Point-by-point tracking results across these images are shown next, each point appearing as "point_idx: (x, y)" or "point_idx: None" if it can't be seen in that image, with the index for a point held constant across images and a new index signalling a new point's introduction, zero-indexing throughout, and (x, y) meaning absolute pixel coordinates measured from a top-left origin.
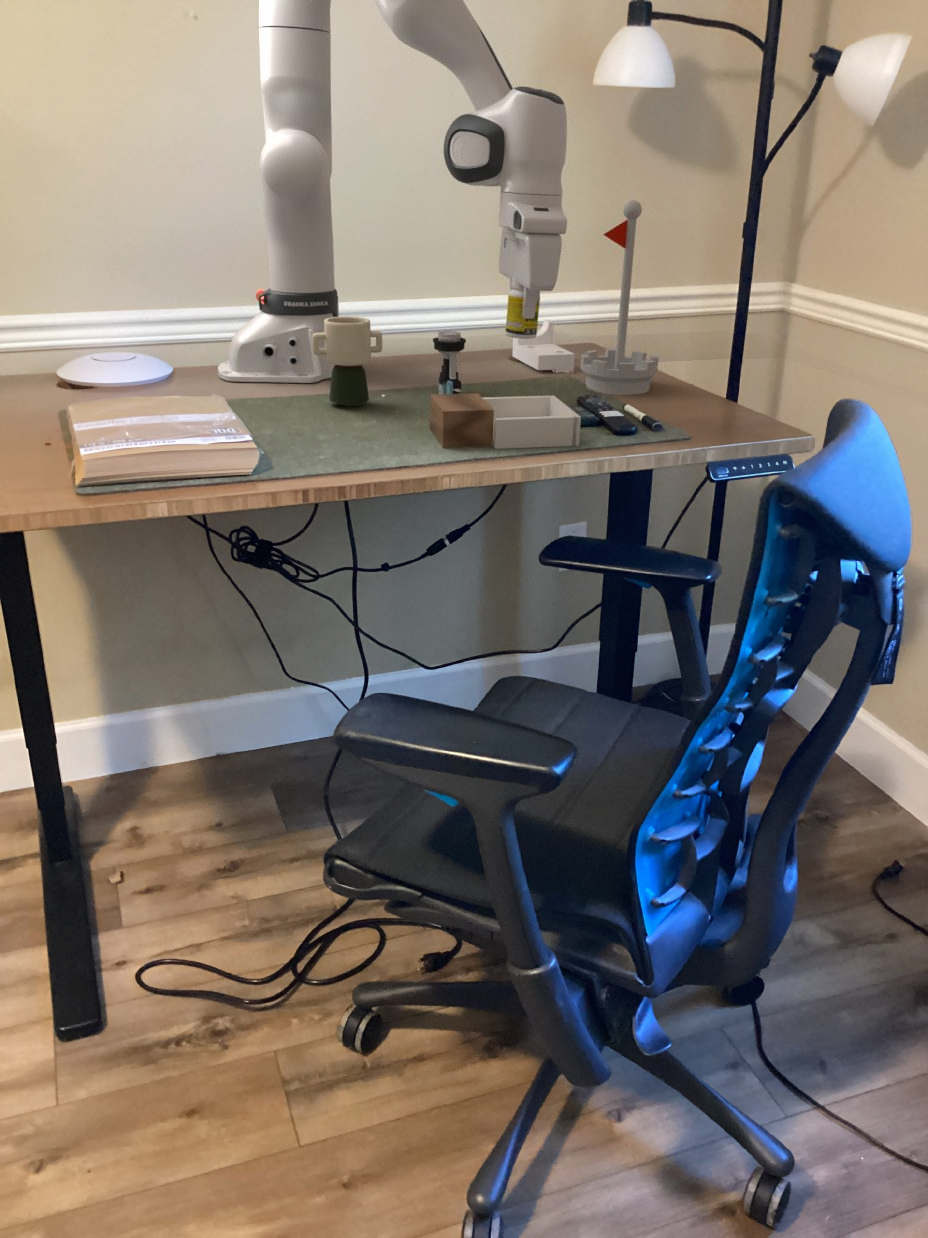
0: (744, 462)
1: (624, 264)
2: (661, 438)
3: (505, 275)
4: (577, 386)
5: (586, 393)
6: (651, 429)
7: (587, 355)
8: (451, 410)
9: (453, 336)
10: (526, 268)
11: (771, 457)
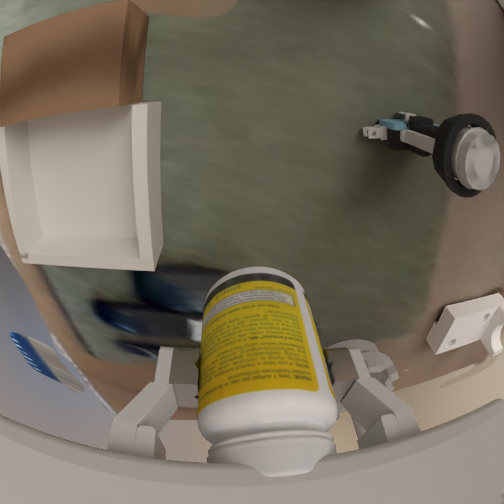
0: (31, 353)
1: None
2: (88, 335)
3: (440, 427)
4: (367, 331)
5: (328, 333)
6: (125, 342)
7: (376, 371)
8: (6, 50)
9: (462, 159)
10: (18, 501)
11: (51, 374)
